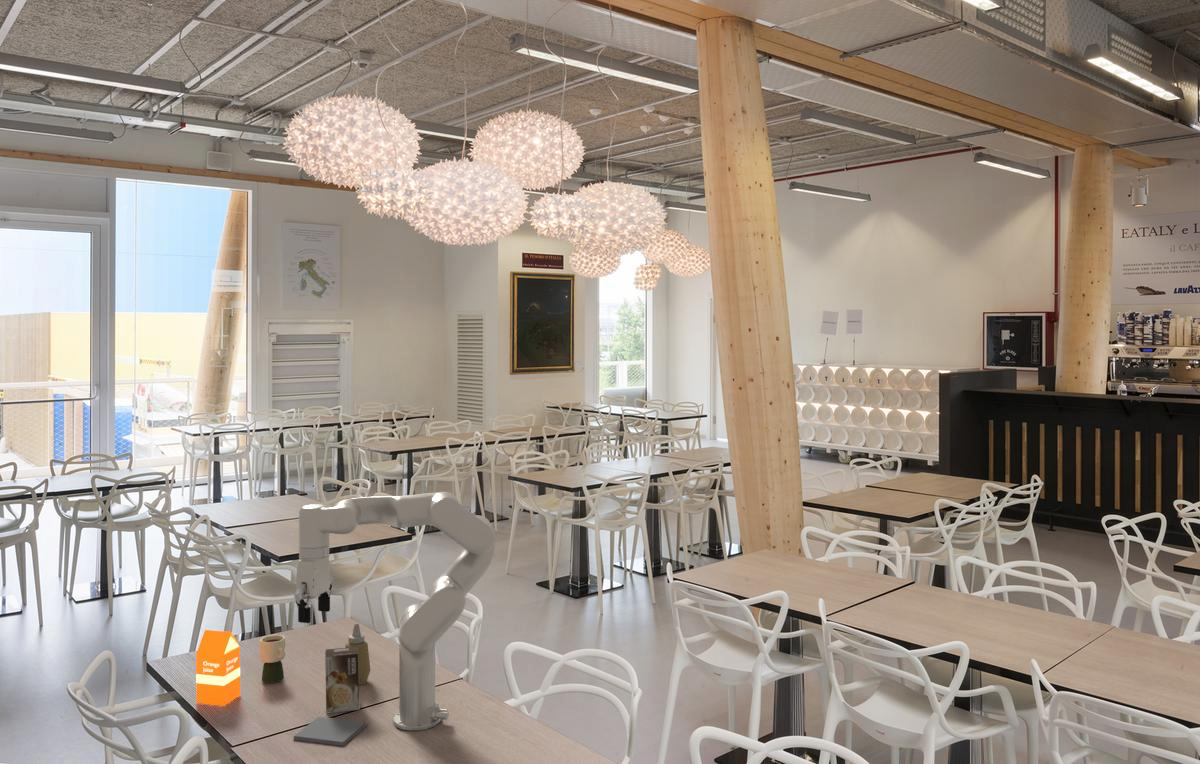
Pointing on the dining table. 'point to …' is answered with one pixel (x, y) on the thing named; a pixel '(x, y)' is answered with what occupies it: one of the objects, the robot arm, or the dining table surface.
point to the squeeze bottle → (360, 653)
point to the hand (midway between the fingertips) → (314, 616)
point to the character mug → (272, 657)
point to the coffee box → (342, 679)
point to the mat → (330, 731)
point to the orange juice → (218, 668)
